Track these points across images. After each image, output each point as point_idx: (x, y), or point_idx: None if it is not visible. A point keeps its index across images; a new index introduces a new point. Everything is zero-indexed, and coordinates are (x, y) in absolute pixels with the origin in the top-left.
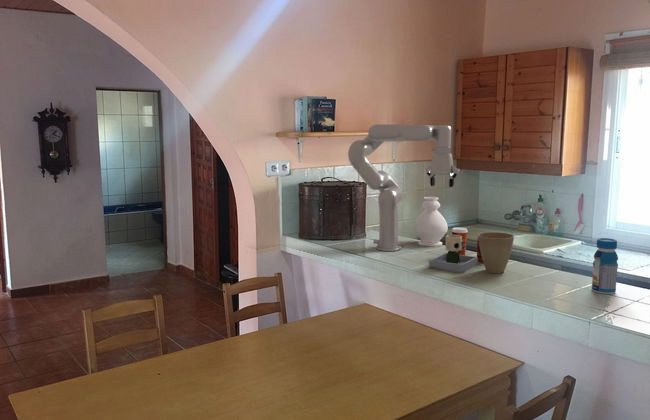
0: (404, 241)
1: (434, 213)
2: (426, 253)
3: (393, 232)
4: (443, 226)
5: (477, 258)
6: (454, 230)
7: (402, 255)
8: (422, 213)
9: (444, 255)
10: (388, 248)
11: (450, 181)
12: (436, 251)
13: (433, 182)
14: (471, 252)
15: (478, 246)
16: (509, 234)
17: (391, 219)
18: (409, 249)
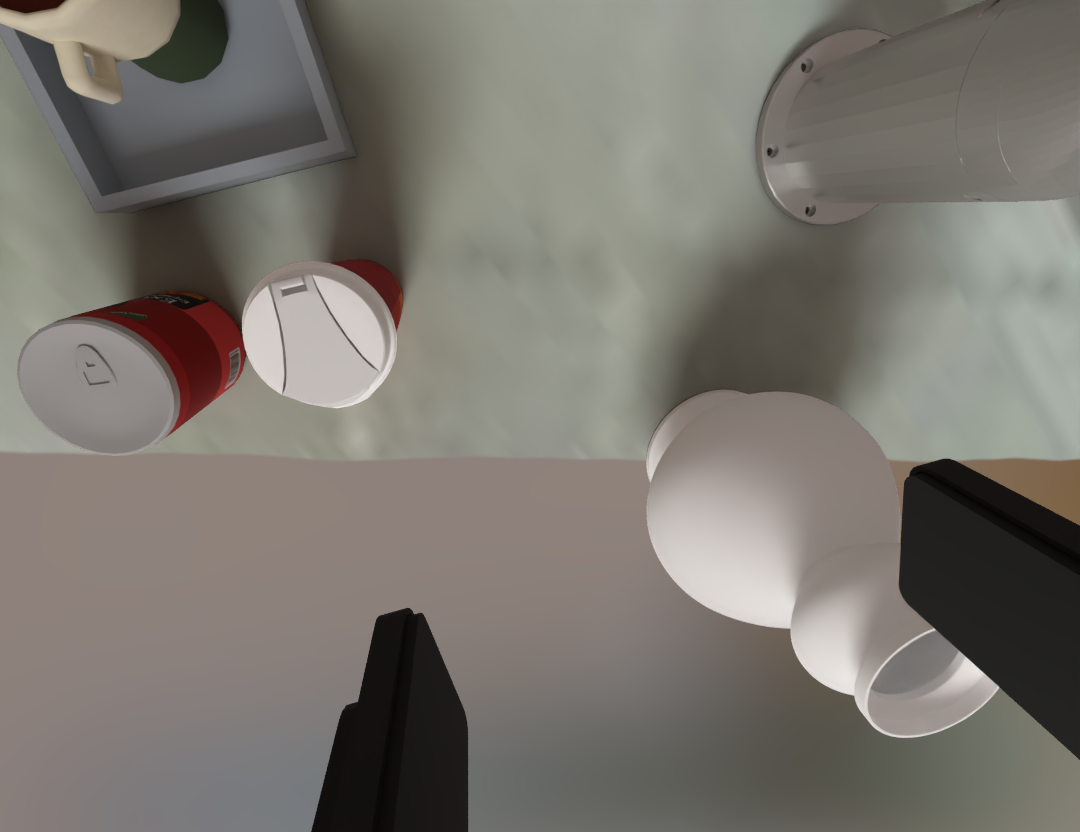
0: (859, 389)
1: (778, 554)
2: (573, 226)
3: (873, 84)
4: (660, 521)
5: (98, 207)
6: (315, 271)
7: (652, 36)
8: (877, 511)
9: (316, 100)
10: (814, 75)
11: (348, 766)
12: (564, 322)
13: (976, 593)
14: (409, 455)
15: (146, 310)
16: None
17: (1000, 23)
18: (720, 236)
